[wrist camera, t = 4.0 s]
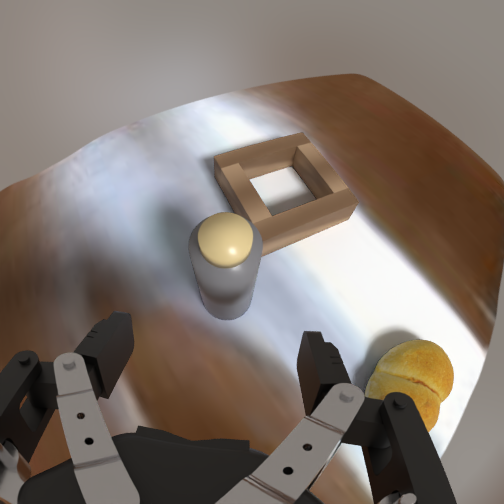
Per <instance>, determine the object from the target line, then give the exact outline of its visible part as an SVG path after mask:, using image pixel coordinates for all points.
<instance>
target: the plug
mask: <svg viewBox="0 0 504 504" xmlns="http://www.w3.org/2000/svg"><path fill="white" fill-rule="evenodd" d="M262 251H263V242H262V238H261V235H260V233H259V231H258V229H257V228H256V227H255V226H254V224H253V223H251V222H250V221H249V220H247V219H246V218H244V217H241V216H239V215H237V214H234V213H229V212H222V213H217V214H214V215H212V216H210V217H208V218H206V219H204V220H203V221H202V222H200V223H199V224H198V225H197V226H196V227H195V229H194V230H193V232H192V234H191V236H190V239H189V254H190V258H191V262H192V265H193V269H194V272H195V276H196V279H197V283H198V286H199V290H200V293H201V297H202V300H203V303H204V306H205V308H206V310H207V311H208V312H209V313H210V314H211V315H212V316H214V317H216V318H218V319H221V320H233V319H236V318H239V317H240V316H242V315H243V314H244V313H245V312H246V311H247V310H248V308H249V306H250V304H251V300H252V295H253V291H254V287H255V282H256V278H257V273H258V269H259V265H260V260H261V256H262Z"/></svg>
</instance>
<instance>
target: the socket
mask: <svg viewBox="0 0 504 504" xmlns="http://www.w3.org/2000/svg"><path fill="white" fill-rule="evenodd" d="M290 166H293V168H294V169H295V170H296V172H297V173H298V174H299V176H300V177H301V178H302V180H303V181H304V182H305V184H306V185H307V186H308V188H309V189H310V190H311V192H312V193H313V195H314V196H315V197H316V199H317V200H314V201H311V202H308V203H306V204H303V205H300V206H298V207H295V208H292V209H290V210H287V211H284V212H282V213H279V214H276V215H274V216H272V215H271V214H270V212H269V210H268V209H267V207H266V206H265V204H264V202H263V201H262V199H261V198H260V196H259V194H258V193H257V191H256V190H255V188H254V186H253V185H252V183H251V182H250V180H249V179H252V178H255V177H258V176H261V175H264V174H268V173H271V172H274V171H277V170H280V169H284V168H287V167H290ZM214 172H215V178H216V180H217V182H218V184H219V185H220V187H221V189H222V191H223V193H224V194H225V196H226V198H227V200H228V202H229V203H230V205H231V207H232V209H233V211H234V212H235V214H237V215H239V216H241V217H244V218H246V219H247V220H249V221H250V222H251V223H253V224H254V226H255V227H256V228H257V229H258V231H259V233H260V235H261V238H262V242H263V251H262V256H265V255H267V254H269V253H272V252H274V251H276V250H279V249H281V248H283V247H286V246H288V245H290V244H293V243H295V242H297V241H300V240H302V239H304V238H307V237H309V236H311V235H314V234H316V233H318V232H321V231H323V230H325V229H328V228H330V227H332V226H335V225H337V224H339V223H342V222H344V221H346V220H348V219H349V218H350V216H351V215H352V213H353V211H354V210H355V208H356V206H357V205H358V203H359V201H358V200H357V199H356V197H355V196H354V195H353V193H352V192H351V191H350V189H349V188H348V187H347V186H346V184H345V183H344V182H343V180H342V179H341V178H340V177H339V175H338V174H337V173H336V172H335V170H334V169H333V168H332V167H331V165H330V164H329V163H328V162H327V161H326V159H325V158H324V157H323V156H322V155H321V153H320V152H319V151H318V150H317V149H316V148H315V146H314V145H313V144H312V143H311V142H310V141H309V139H308V138H307V137H306V136H305V135H304V134H303V133H297V134H293V135H289V136H285V137H281V138H277V139H273V140H269V141H265V142H262V143H258V144H254V145H251V146H247V147H244V148H240V149H237V150H233V151H230V152H227V153H223V154H220V155H217V156H214ZM262 256H261V257H262Z"/></svg>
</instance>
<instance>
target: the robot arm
mask: <svg viewBox="0 0 504 504" xmlns="http://www.w3.org/2000/svg"><path fill="white" fill-rule="evenodd" d="M133 349H134V336H133V329H132V320H131V315H130V314H129V313H125V312H118V311H114V312H113V313H112V314H111V315H110V317H109V318H108V319H107V320H105V319H103V320H102V321H100V322H98V323H97V324H95V325H94V327H93V328H92V329H91V332H89V333H88V334H87V337H85V338H84V339H83V341H82V342H81V343H80V344H79V346H78V347H77V348H76V350H75V351H74V352H73V353H64V354H62V355H60V356H58V357H57V358H56V359H55V361H54V362H40V361H39V358H38V356H37V354H36V353H35V352H33V351H22V352H19V353H17V354H16V355H15V356H14V357H13V358H12V359H11V360H10V362H9V363H8V364H7V365H6V366H5V368H4V369H3V370H2V371H1V373H0V504H324V503H323V502H322V501H321V500H320V499H318V498H317V497H316V496H315V495H314V494H313V493H311V492H310V489H311V488H312V487H313V485H314V484H315V482H316V481H317V480H318V478H319V477H320V475H321V474H322V472H323V471H324V469H325V468H326V466H327V465H328V464H329V462H330V461H331V459H332V458H333V456H334V455H335V453H336V452H337V450H338V448H339V447H340V445H341V444H342V443H346V444H352V445H359V446H361V447H362V451H363V455H364V460H365V464H366V468H367V473H368V477H369V482H370V486H371V491H372V496H373V501H374V504H457V503H456V500H455V497H454V494H453V492H452V489H451V487H450V484H449V481H448V478H447V476H446V473H445V471H444V468H443V466H442V463H441V461H440V458H439V456H438V454H437V451H436V449H435V447H434V444H433V442H432V440H431V437H430V435H429V433H428V431H427V428H426V426H425V424H424V422H423V420H422V417H421V415H420V413H419V411H418V409H417V407H416V405H415V403H414V401H413V399H412V398H411V397H410V396H408V395H407V394H405V393H402V392H391V393H389V394H387V395H386V396H385V398H384V400H380V399H373V398H368V397H365V396H364V393H363V391H362V390H361V389H360V388H359V387H357V386H355V385H353V384H351V381H350V378H349V376H348V373H347V371H346V368H345V366H344V364H343V361H342V358H341V356H340V354H339V351H338V349H337V348H336V347H335V346H334V345H333V344H332V343H331V342H324V339H323V336H322V334H321V332H316V331H304V333H303V336H302V340H301V345H300V349H299V354H298V358H297V372H298V377H299V382H300V387H301V393H302V398H303V403H304V408H305V414H306V416H305V417H304V418H303V419H302V420H301V422H300V423H299V424H298V425H297V426H296V427H295V429H294V430H293V431H292V432H291V433H290V434H289V435H288V437H287V438H286V439H285V440H284V441H283V442H282V443H281V444H280V445H279V446H278V448H277V449H276V450H275V451H274V452H273V453H272V454H271V455H270V456H269V455H267V454H265V453H263V452H261V451H258V450H255V449H252V448H249V440H234V439H211V440H198V441H191V440H187V439H185V438H182V437H179V436H176V435H174V434H171V433H169V432H166V431H163V430H158V429H153V428H148V427H143V426H138V428H137V431H136V433H124V434H120V435H116V436H113V437H111V436H110V434H109V431H108V429H107V426H106V424H105V421H104V419H103V416H102V414H101V411H100V408H99V406H98V403H97V400H98V398H99V397H103V398H107V399H109V397H110V395H111V393H112V391H113V389H114V387H115V385H116V383H117V381H118V379H119V377H120V375H121V373H122V371H123V369H124V367H125V365H126V364H127V362H128V360H129V358H130V356H131V354H132V352H133ZM25 395H26V396H27V399H26V400H25V402H24V404H23V405H22V407H21V408H20V409H19V407H20V403H21V401H22V400H23V398H24V397H25ZM55 409H59V412H60V417H61V421H62V425H63V429H64V433H65V437H66V441H67V444H68V448H69V451H70V454H71V457H72V458H71V459H69V460H67V461H65V462H63V463H61V464H59V465H57V466H55V467H52V468H50V469H48V470H46V471H44V472H42V473H40V474H37V475H35V476H33V477H31V478H30V476H31V468H30V465H29V462H30V459H31V457H32V455H33V453H34V451H35V449H36V447H37V444H38V442H39V440H40V438H41V436H42V434H43V432H44V430H45V428H46V426H47V424H48V422H49V420H50V418H51V417H52V415H53V413H54V411H55Z"/></svg>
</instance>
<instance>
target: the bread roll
mask: <svg viewBox="0 0 504 504" xmlns="http://www.w3.org/2000/svg"><path fill="white" fill-rule="evenodd" d="M453 380H454V372H453V367H452V364H451V362H450V360H449V358H448V356H447V354H446V353H445V352H444V350H443V349H442V348H441V347H440V346H438V345H437V344H435V343H433V342H431V341H427V340H411V341H407V342H404V343H401V344H399V345H397V346H395V347H393V348H392V349H390V350H389V351H388V352H387V353H386V354H384V355H383V356H382V358H381V359H380V360H379V362H378V364H377V366H376V368H375V371H374V372H373V374H372V376H371V377H370V379H369V381H368V384H367V386H366V390H365V395H364V396H365V397H368V398H373V399H380V400H384V398H385V396H386V395H387V394H389V393H391V392H402V393H405V394H407V395H408V396H410V397H411V398H412V399H413V401H414V403H415V405H416V407H417V409H418V411H419V413H420V415H421V417H422V420H423V422H424V424H425V426H426V428H427V431H428V432H429V431H430V430H431V429H432V428H433V427H434V425H435V424H436V422H437V420H438V415H439V410H440V403H441V402H443V401H444V400H445V399H446V398H447V397H448V396H449V394H450V392H451V390H452V386H453Z"/></svg>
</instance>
